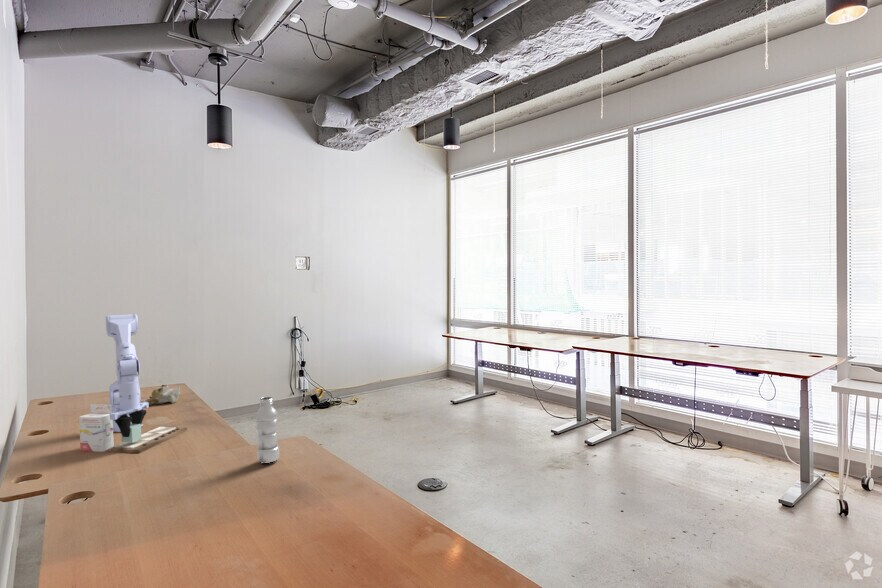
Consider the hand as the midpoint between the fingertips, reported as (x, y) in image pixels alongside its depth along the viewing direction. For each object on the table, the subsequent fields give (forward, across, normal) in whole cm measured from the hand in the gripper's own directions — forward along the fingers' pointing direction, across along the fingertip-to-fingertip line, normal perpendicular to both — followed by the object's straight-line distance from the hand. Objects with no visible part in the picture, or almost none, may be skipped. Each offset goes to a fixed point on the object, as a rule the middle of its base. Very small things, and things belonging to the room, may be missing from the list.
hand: (131, 434), depth 166 cm
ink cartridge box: (+5, -3, +10) cm, 12 cm away
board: (+4, +7, -2) cm, 8 cm away
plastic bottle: (+5, -6, -54) cm, 54 cm away
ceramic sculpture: (+5, +52, +30) cm, 60 cm away
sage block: (+2, 0, 0) cm, 2 cm away
